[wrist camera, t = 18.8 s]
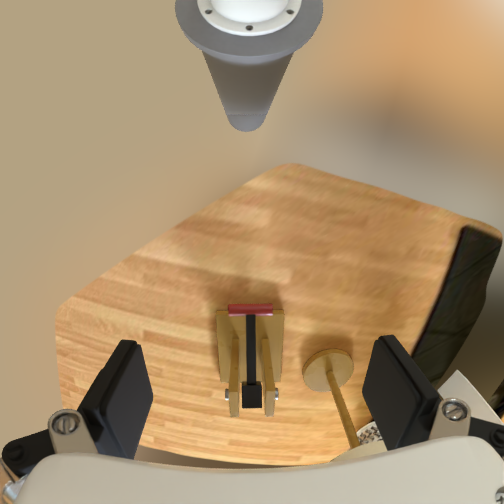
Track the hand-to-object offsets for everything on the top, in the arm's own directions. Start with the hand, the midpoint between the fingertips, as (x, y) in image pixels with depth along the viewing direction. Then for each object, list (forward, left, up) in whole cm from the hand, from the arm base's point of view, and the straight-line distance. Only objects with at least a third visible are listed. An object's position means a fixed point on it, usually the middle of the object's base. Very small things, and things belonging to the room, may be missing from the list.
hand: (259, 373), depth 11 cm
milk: (+32, +42, -26) cm, 59 cm away
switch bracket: (+17, 0, -26) cm, 31 cm away
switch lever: (+13, 0, -20) cm, 24 cm away
